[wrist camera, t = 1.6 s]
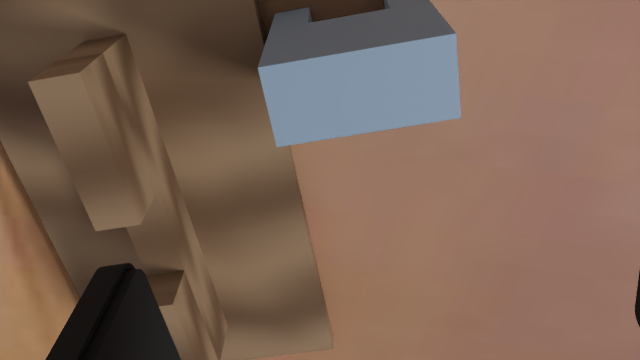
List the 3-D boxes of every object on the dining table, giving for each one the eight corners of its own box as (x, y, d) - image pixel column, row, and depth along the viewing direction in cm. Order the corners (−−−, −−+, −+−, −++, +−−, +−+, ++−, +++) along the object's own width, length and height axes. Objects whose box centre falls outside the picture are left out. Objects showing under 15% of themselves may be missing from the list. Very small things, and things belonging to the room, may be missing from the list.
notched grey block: (288, 74, 27) (276, 147, 20) (275, 13, 26) (257, 67, 19) (424, 52, 26) (460, 117, 19) (418, -13, 25) (456, 33, 18)
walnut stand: (-59, -7, 25) (-170, 29, 19) (242, -66, 24) (217, -45, 18) (124, 363, 37) (88, 453, 31) (332, 336, 35) (335, 426, 30)
